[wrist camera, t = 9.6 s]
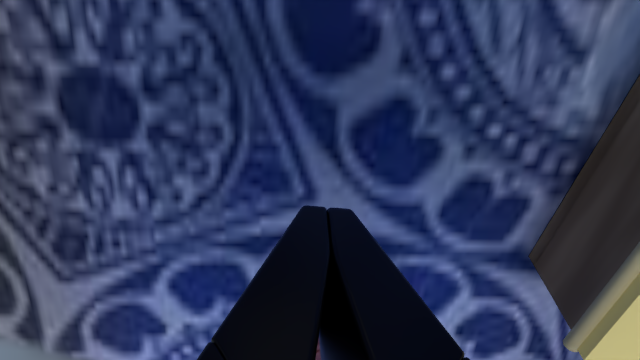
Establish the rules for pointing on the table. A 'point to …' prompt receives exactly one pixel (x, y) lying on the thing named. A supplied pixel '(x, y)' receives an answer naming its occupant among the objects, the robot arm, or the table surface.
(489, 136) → the table surface
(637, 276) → the lid
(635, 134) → the walnut box
